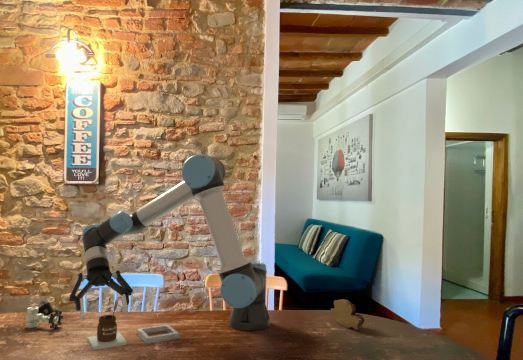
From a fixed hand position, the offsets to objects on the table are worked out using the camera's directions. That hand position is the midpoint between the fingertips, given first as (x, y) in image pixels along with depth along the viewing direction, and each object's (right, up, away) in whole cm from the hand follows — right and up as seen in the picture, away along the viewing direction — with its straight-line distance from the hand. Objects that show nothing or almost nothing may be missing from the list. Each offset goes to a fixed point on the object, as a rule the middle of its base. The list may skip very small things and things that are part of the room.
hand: (105, 315), depth 139 cm
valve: (-26, -8, +11) cm, 30 cm away
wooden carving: (+83, -11, +20) cm, 86 cm away
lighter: (-33, -8, +23) cm, 41 cm away
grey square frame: (+16, -8, +5) cm, 19 cm away
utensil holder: (+1, -7, -2) cm, 7 cm away
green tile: (+1, -8, -2) cm, 8 cm away
